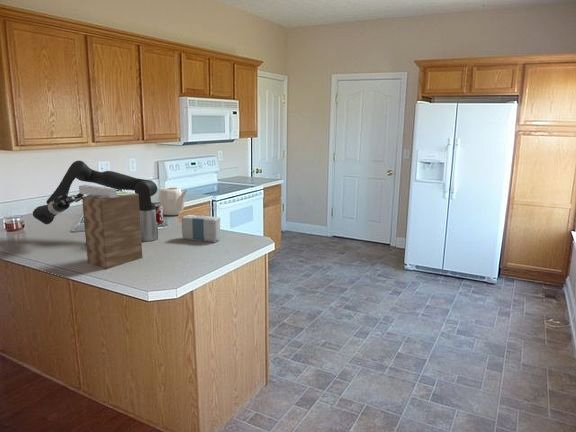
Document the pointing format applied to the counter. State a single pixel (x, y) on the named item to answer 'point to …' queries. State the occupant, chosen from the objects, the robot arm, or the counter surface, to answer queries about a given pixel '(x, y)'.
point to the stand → (112, 229)
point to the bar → (97, 191)
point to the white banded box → (201, 227)
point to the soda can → (159, 213)
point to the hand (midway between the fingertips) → (74, 194)
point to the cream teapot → (172, 200)
